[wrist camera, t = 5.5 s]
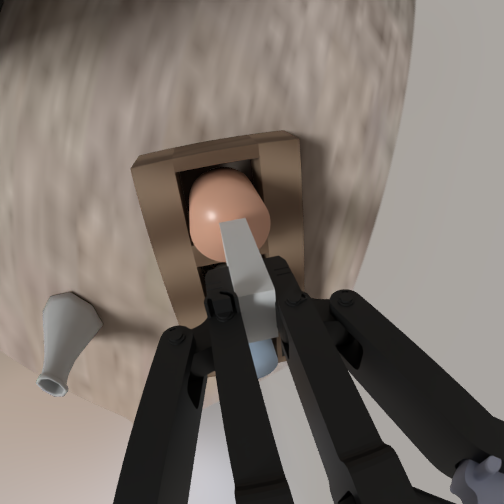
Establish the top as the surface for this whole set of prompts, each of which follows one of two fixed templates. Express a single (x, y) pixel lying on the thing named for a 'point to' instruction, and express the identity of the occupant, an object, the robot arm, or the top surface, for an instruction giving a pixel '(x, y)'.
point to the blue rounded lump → (263, 357)
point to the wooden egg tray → (178, 223)
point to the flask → (65, 339)
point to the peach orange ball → (224, 209)
